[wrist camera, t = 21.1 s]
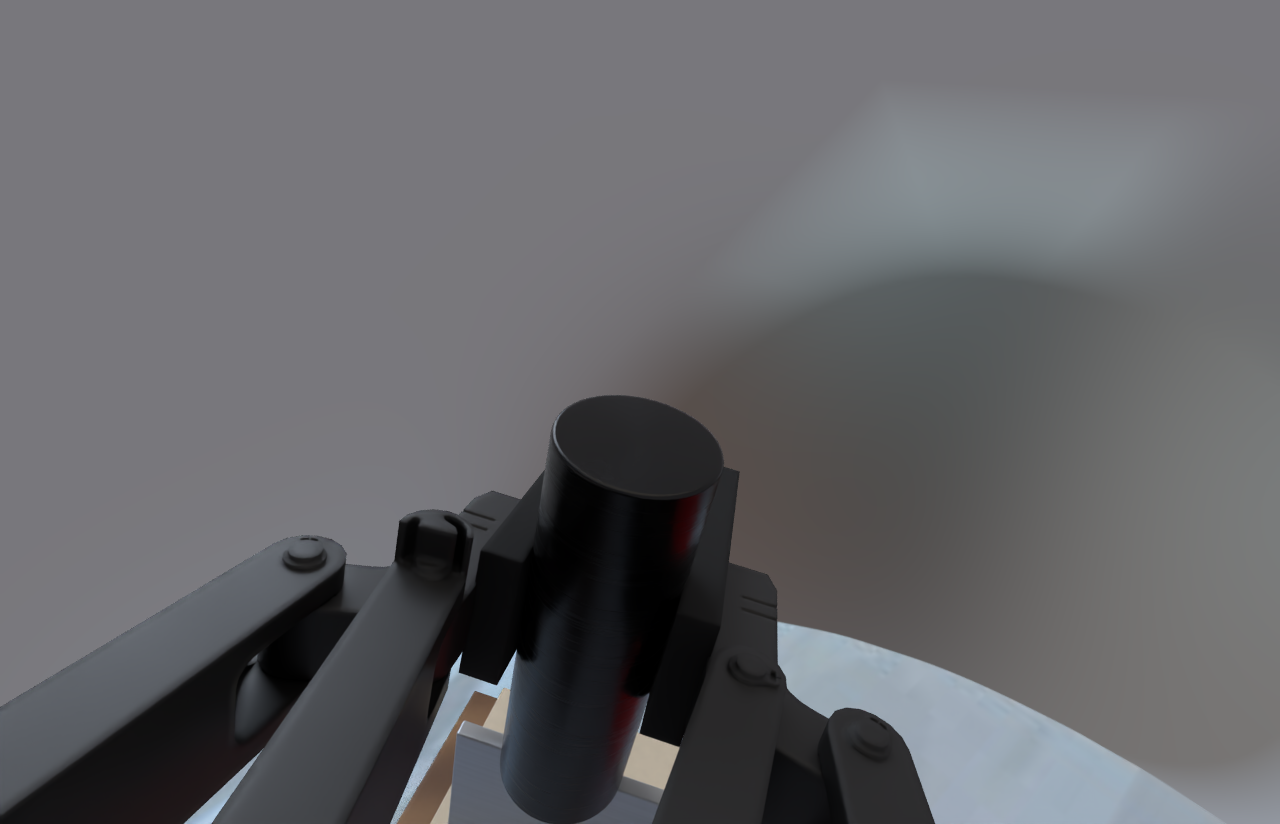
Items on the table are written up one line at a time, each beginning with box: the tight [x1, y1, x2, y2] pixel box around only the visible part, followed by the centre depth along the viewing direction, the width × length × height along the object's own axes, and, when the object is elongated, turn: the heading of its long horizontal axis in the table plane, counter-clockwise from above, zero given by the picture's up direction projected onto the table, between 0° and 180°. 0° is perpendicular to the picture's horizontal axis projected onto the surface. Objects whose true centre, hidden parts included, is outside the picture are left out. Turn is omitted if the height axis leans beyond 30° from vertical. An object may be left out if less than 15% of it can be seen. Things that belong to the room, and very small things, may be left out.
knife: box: [448, 395, 724, 824], centre depth 16 cm, size 3×5×19 cm, turn 79°
